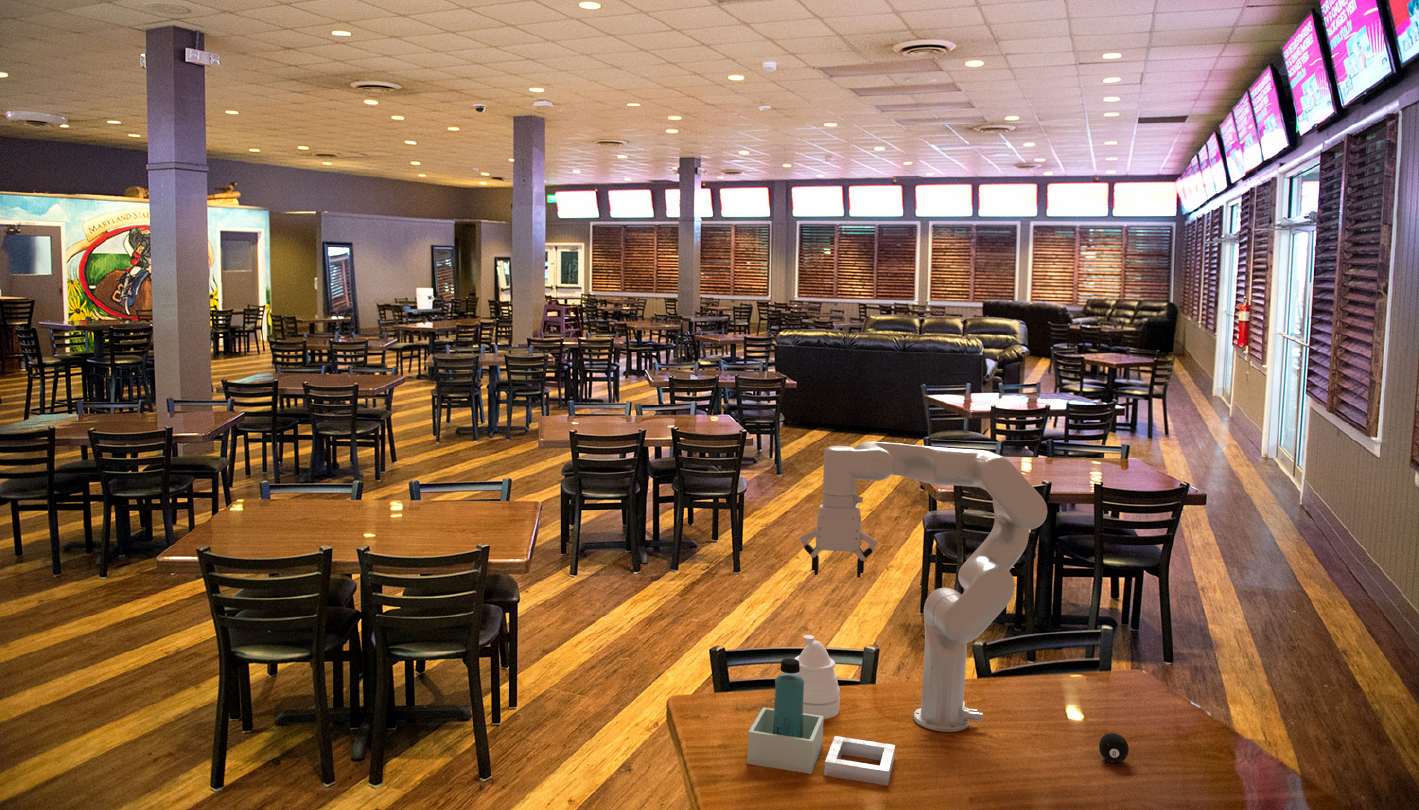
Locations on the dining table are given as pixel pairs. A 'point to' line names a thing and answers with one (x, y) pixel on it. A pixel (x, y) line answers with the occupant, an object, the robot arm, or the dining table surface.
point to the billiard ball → (1113, 747)
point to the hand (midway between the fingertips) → (837, 574)
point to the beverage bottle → (789, 700)
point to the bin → (785, 744)
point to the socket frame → (856, 769)
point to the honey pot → (818, 680)
